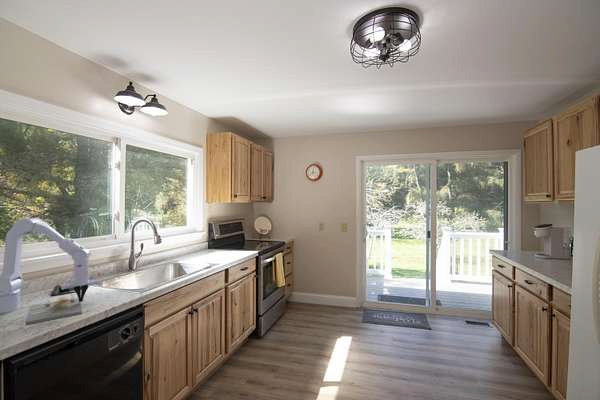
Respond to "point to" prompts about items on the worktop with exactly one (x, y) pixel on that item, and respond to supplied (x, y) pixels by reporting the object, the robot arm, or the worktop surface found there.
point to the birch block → (60, 302)
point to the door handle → (58, 291)
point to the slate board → (45, 310)
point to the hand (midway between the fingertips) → (80, 301)
